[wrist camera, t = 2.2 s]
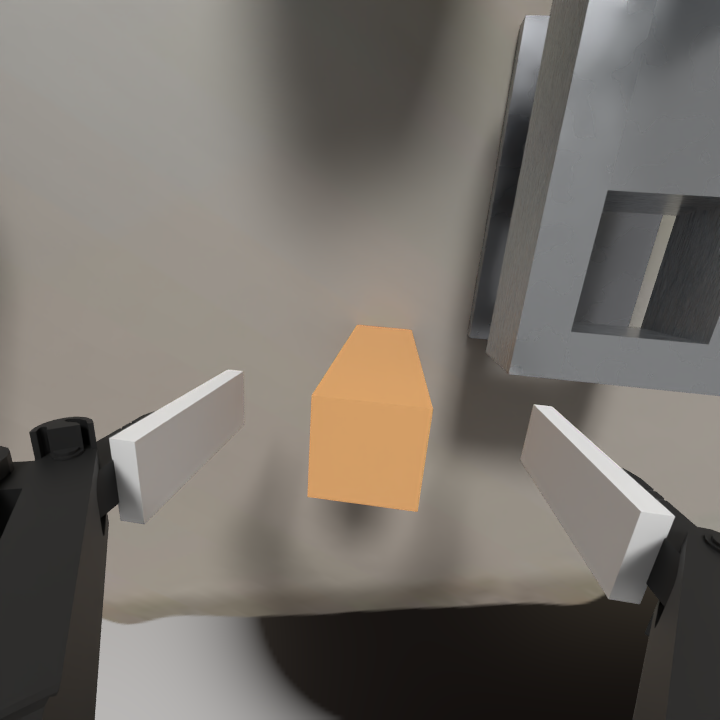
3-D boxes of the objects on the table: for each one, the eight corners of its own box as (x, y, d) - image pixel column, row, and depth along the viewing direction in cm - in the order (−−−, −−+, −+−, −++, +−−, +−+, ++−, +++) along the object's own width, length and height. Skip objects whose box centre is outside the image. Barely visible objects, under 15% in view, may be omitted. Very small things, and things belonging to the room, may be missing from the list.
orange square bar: (353, 375, 25) (307, 496, 12) (357, 324, 24) (311, 395, 11) (405, 381, 25) (417, 511, 12) (411, 329, 24) (433, 409, 11)
